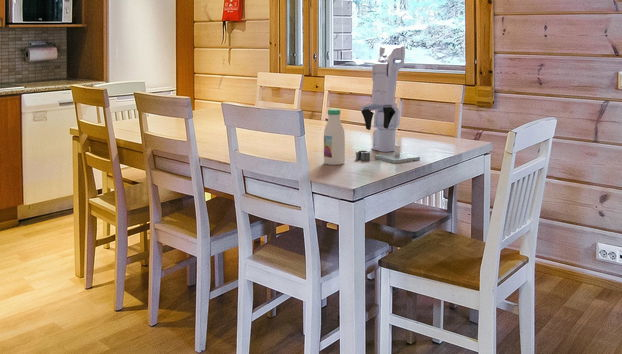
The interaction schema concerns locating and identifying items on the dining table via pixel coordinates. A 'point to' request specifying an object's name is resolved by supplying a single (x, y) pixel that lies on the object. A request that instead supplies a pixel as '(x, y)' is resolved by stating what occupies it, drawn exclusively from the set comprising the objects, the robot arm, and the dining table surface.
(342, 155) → the milk bottle
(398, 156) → the stand
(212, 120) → the dining table surface
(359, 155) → the split ring
